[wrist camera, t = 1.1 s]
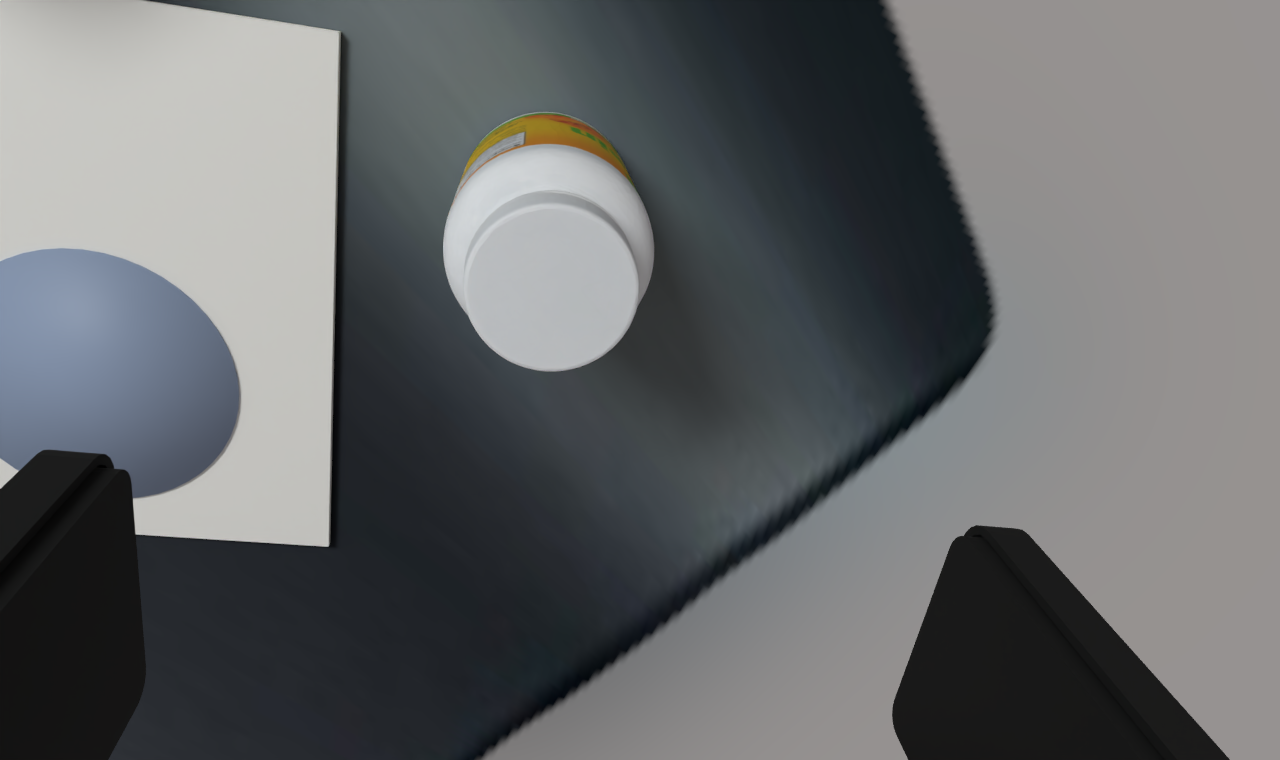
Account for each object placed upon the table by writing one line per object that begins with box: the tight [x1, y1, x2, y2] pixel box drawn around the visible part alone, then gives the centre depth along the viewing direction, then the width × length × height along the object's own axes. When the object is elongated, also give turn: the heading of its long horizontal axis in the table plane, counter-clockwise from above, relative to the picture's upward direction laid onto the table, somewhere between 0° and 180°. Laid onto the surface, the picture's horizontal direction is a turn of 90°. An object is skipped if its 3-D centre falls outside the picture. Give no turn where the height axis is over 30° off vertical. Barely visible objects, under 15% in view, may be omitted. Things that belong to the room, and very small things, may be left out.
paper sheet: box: [0, 0, 341, 547], centre depth 28 cm, size 18×13×1 cm
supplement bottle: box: [443, 112, 654, 372], centre depth 24 cm, size 5×5×10 cm
